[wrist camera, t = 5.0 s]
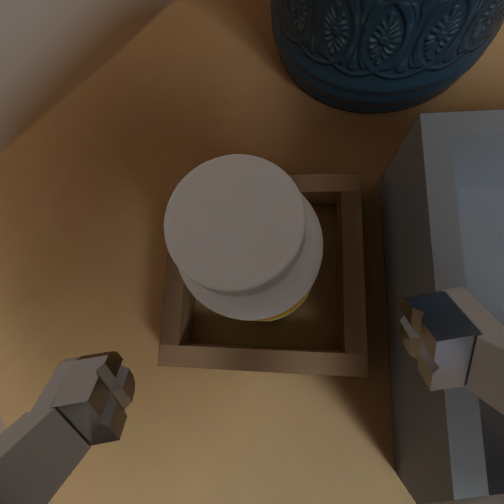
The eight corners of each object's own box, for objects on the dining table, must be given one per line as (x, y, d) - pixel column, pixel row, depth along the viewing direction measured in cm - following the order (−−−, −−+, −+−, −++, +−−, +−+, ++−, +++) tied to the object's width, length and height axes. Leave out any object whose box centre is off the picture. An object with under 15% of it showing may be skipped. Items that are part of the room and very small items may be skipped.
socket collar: (353, 188, 18) (360, 172, 16) (359, 371, 16) (368, 377, 14) (186, 191, 20) (175, 177, 18) (172, 360, 18) (157, 365, 16)
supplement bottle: (333, 269, 18) (379, 206, 8) (268, 342, 17) (237, 367, 8) (261, 209, 19) (229, 96, 9) (199, 276, 18) (101, 229, 9)
